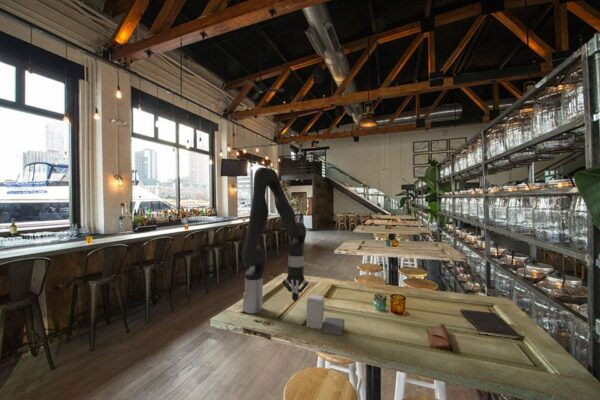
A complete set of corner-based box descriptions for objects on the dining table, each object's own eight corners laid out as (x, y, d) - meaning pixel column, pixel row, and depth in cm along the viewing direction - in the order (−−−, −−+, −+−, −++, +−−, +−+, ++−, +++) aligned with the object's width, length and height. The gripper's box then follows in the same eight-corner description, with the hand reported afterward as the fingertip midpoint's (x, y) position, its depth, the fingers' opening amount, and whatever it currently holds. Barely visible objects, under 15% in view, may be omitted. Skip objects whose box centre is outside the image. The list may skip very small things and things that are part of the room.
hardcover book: (494, 317, 134) (494, 312, 134) (520, 341, 112) (520, 335, 112) (460, 313, 138) (460, 309, 138) (478, 335, 116) (478, 330, 116)
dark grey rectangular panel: (321, 333, 114) (321, 332, 114) (325, 317, 129) (325, 317, 129) (342, 335, 113) (342, 334, 113) (343, 319, 127) (343, 318, 127)
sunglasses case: (424, 327, 121) (433, 316, 120) (439, 337, 119) (448, 326, 118) (429, 348, 104) (439, 335, 103) (446, 360, 102) (456, 348, 101)
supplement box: (322, 329, 118) (322, 301, 118) (306, 327, 119) (306, 300, 119) (323, 321, 125) (324, 295, 125) (308, 320, 126) (309, 294, 126)
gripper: (280, 265, 121) (279, 302, 121) (308, 267, 119) (307, 305, 119) (284, 261, 129) (284, 296, 129) (310, 263, 126) (310, 298, 126)
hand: (295, 300), depth 124 cm, fingers closed
